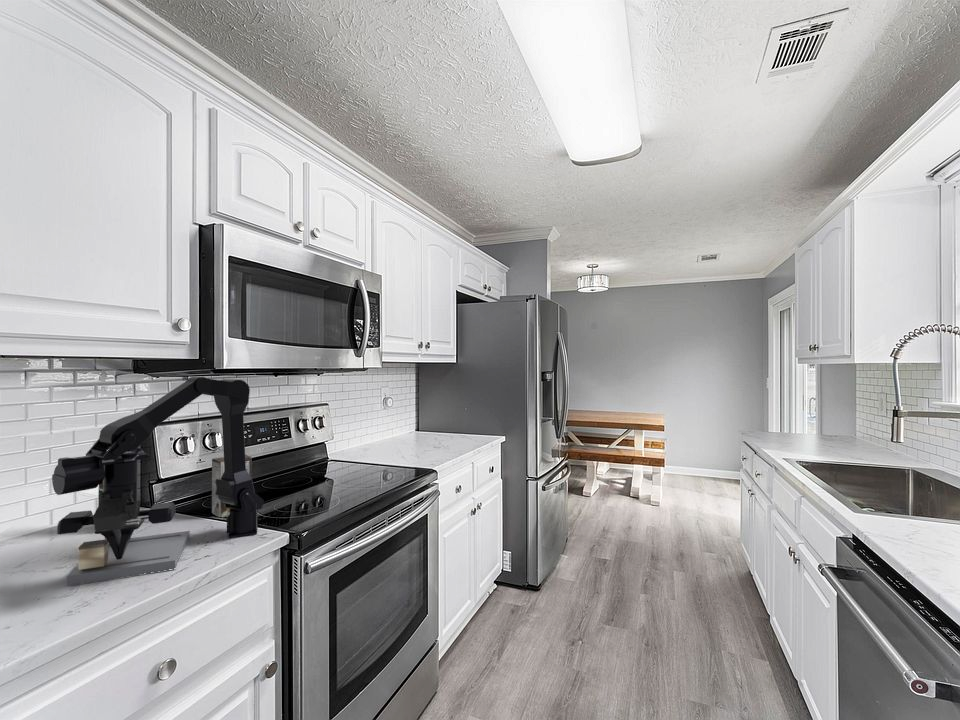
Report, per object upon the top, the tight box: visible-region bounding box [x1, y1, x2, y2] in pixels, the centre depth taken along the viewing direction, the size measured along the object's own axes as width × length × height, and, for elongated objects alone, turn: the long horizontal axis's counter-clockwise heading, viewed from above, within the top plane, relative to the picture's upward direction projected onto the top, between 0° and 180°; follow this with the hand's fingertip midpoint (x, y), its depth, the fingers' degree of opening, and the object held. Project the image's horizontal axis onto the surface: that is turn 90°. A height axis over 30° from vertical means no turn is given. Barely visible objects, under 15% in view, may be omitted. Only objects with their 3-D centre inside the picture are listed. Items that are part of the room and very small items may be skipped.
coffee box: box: [211, 454, 253, 518], centre depth 137 cm, size 9×6×16 cm
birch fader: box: [78, 538, 109, 570], centre depth 94 cm, size 4×3×4 cm
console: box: [66, 530, 191, 587], centre depth 103 cm, size 18×19×2 cm
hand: (119, 558), depth 96 cm, fingers closed
